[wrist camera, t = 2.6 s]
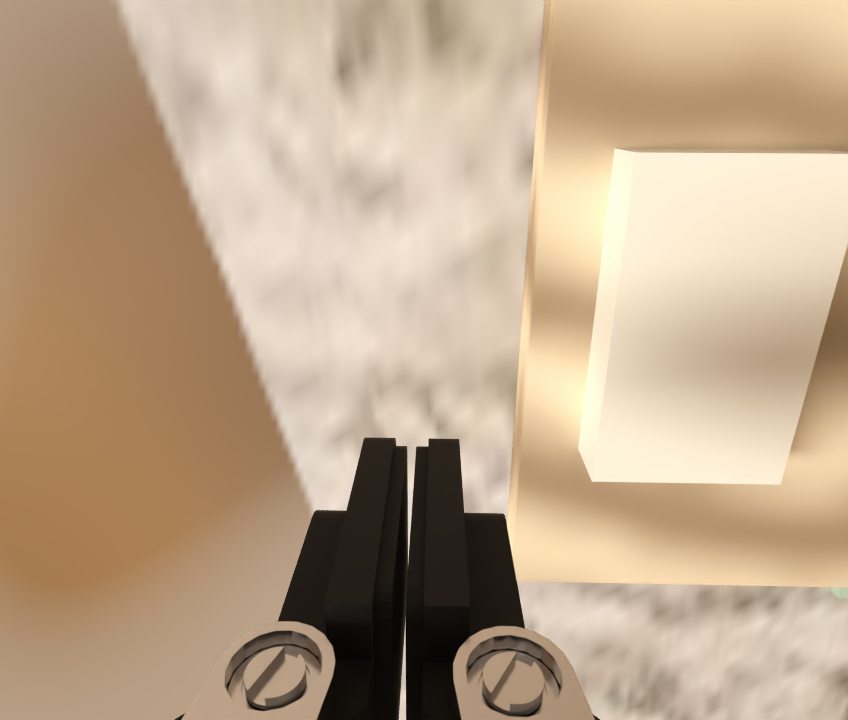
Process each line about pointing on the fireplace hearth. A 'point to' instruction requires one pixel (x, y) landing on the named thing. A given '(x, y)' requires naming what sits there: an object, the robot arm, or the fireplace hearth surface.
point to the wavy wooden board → (579, 275)
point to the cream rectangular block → (710, 311)
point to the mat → (840, 592)
